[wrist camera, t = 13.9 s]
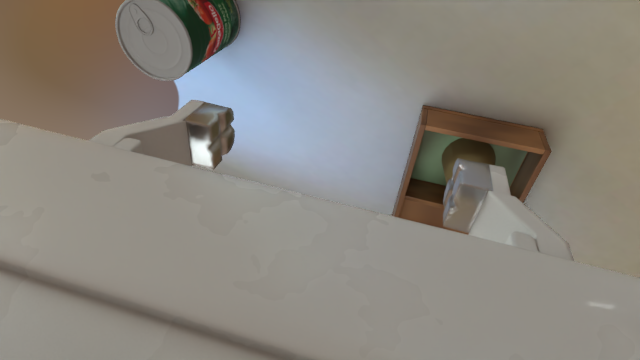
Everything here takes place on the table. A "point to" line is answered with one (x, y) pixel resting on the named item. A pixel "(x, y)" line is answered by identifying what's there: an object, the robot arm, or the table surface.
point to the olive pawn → (466, 154)
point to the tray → (447, 126)
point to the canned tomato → (175, 33)
